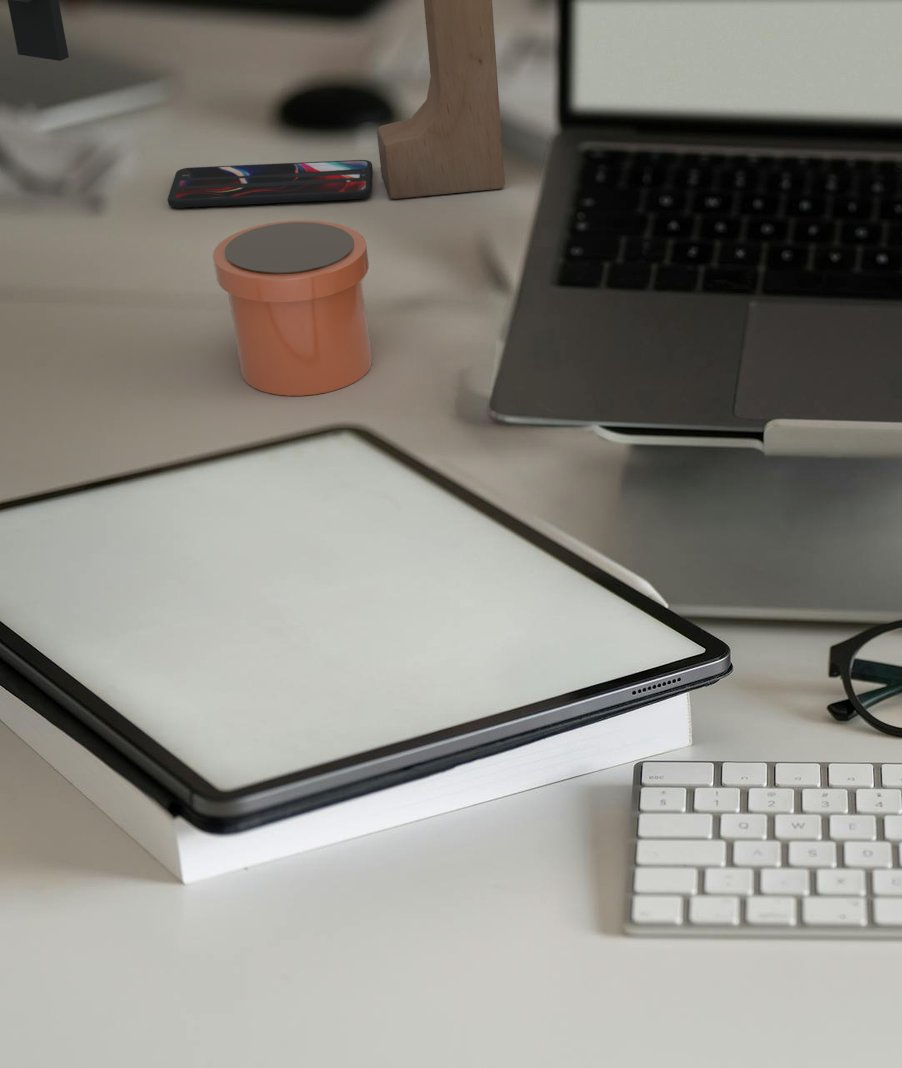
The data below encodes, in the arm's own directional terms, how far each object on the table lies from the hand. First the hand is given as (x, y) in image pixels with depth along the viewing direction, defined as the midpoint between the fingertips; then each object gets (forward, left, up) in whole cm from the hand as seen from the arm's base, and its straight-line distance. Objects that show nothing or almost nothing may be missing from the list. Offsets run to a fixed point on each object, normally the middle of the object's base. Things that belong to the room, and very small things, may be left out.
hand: (116, 25), depth 100 cm
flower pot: (+11, -2, -20) cm, 23 cm away
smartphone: (-6, +24, -20) cm, 32 cm away
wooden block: (+6, +29, -20) cm, 36 cm away
